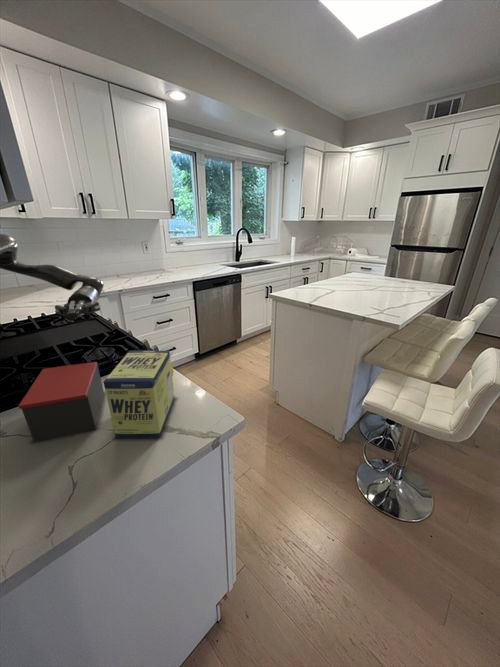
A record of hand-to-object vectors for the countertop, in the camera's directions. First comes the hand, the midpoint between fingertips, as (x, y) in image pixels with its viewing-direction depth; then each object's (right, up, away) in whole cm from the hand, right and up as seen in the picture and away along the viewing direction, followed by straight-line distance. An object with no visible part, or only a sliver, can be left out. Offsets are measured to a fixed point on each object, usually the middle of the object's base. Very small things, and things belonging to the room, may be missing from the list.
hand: (71, 316), depth 80 cm
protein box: (+26, -27, -9) cm, 38 cm away
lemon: (+25, -20, +6) cm, 33 cm away
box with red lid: (+6, -26, -9) cm, 28 cm away
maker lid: (+6, -17, -13) cm, 22 cm away
